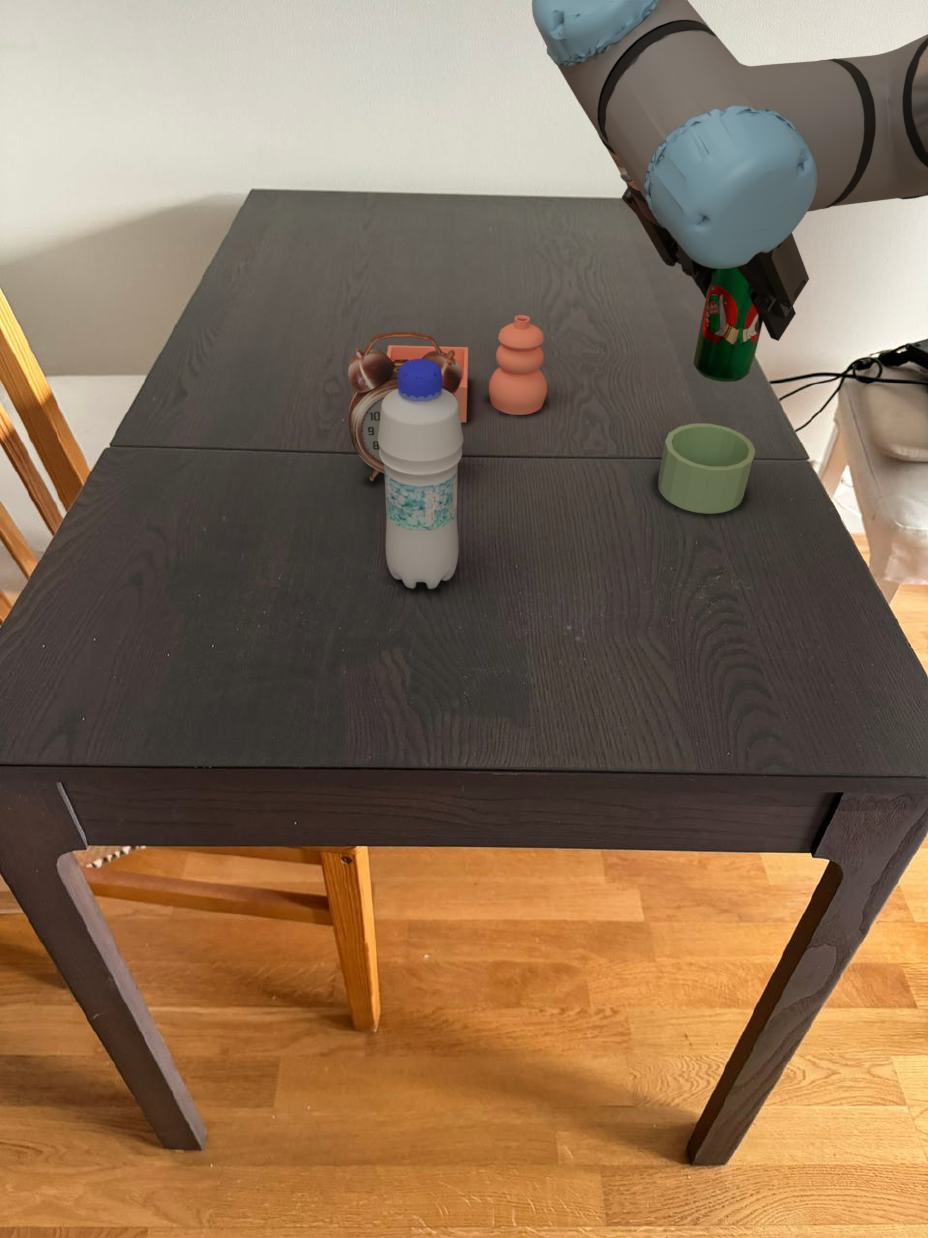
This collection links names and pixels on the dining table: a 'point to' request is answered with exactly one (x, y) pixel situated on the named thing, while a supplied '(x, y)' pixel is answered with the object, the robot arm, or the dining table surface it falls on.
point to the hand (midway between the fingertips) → (754, 314)
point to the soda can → (728, 328)
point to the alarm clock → (385, 391)
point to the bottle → (421, 475)
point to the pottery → (500, 369)
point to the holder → (705, 468)
